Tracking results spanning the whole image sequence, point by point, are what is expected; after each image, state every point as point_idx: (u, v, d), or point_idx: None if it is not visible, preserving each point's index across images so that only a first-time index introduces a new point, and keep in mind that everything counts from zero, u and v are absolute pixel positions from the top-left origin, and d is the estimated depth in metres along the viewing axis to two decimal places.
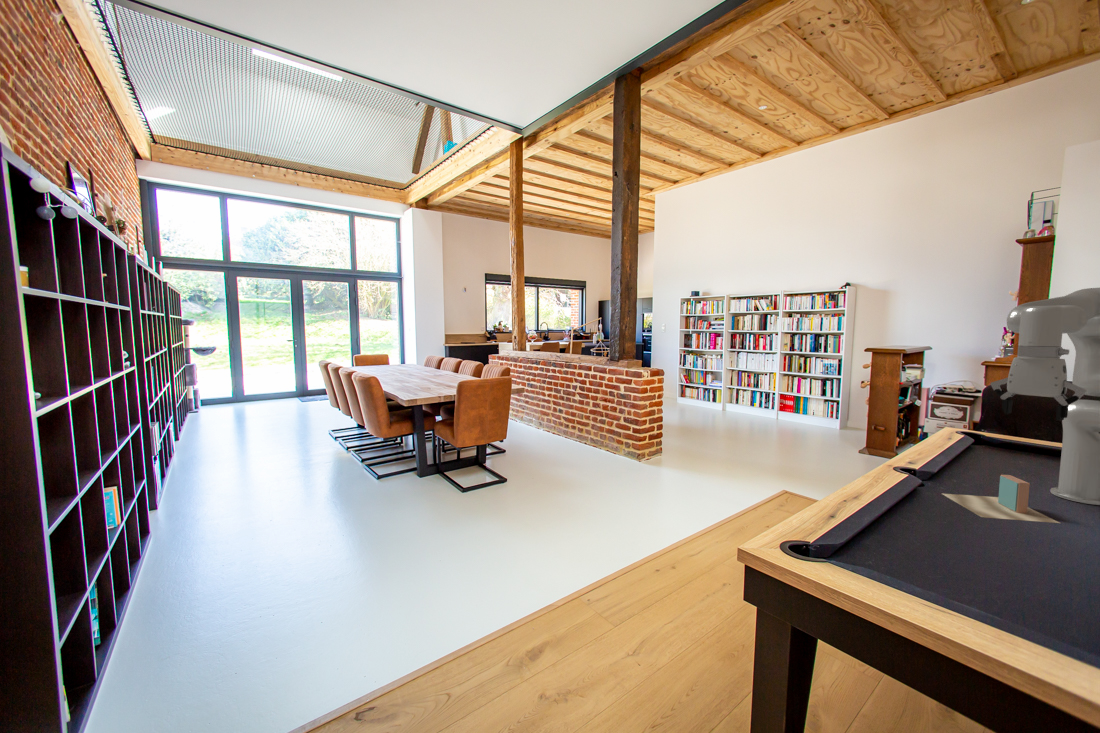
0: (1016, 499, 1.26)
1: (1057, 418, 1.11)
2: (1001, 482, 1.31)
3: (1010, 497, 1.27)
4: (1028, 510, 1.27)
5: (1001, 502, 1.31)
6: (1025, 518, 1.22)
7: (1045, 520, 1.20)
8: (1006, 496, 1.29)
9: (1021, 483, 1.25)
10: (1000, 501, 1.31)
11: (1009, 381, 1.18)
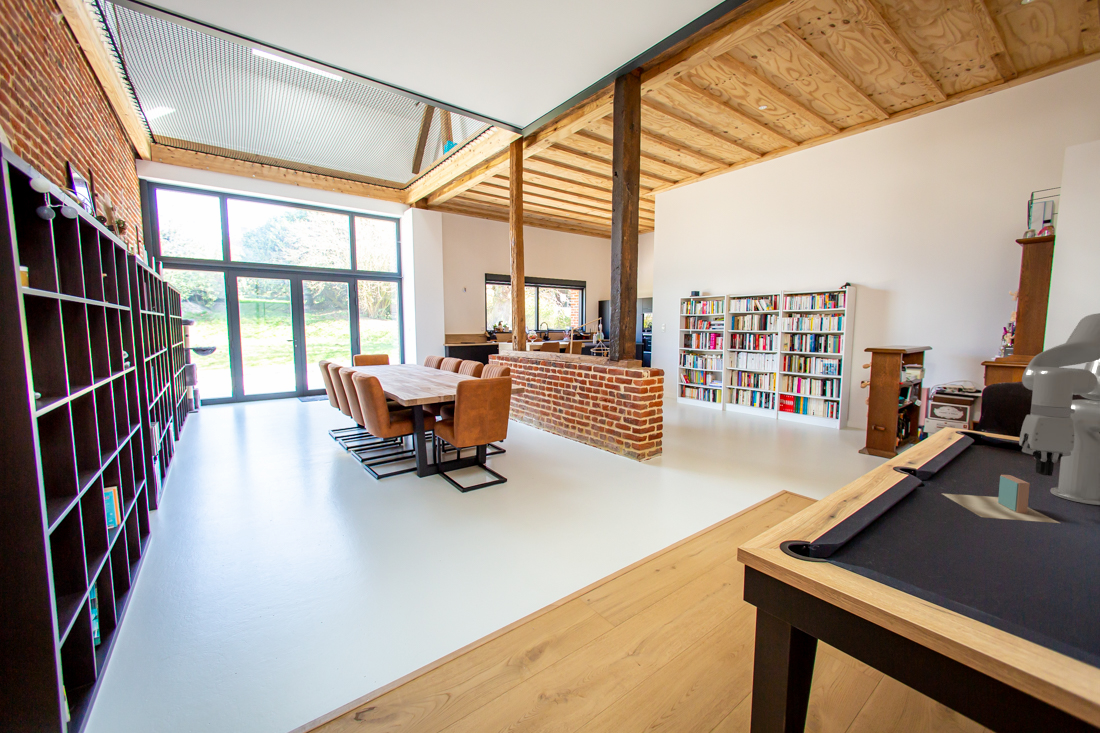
0: (1016, 499, 1.26)
1: (1050, 474, 1.24)
2: (1001, 482, 1.31)
3: (1010, 497, 1.27)
4: (1028, 510, 1.27)
5: (1001, 502, 1.31)
6: (1025, 518, 1.22)
7: (1045, 520, 1.20)
8: (1006, 496, 1.29)
9: (1021, 483, 1.25)
10: (1000, 501, 1.31)
11: (1034, 439, 1.24)
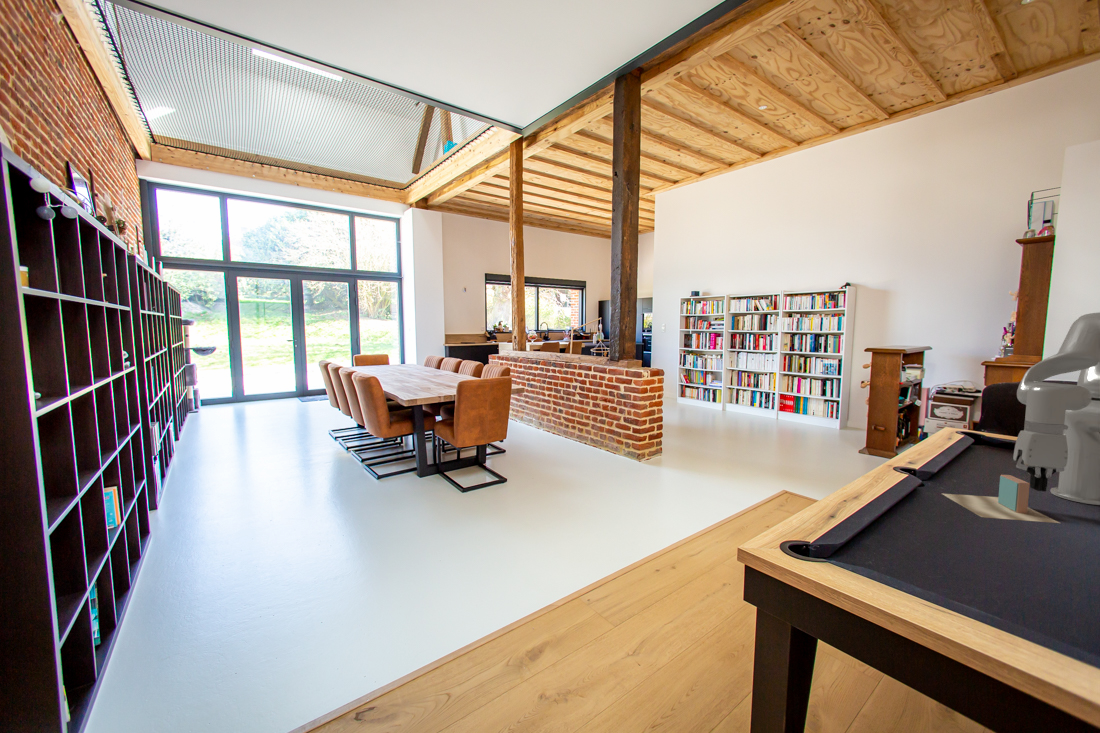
0: (1016, 499, 1.26)
1: (1044, 489, 1.25)
2: (1001, 482, 1.31)
3: (1010, 497, 1.27)
4: (1028, 510, 1.27)
5: (1001, 502, 1.31)
6: (1025, 518, 1.22)
7: (1045, 520, 1.20)
8: (1006, 496, 1.29)
9: (1021, 483, 1.25)
10: (1000, 501, 1.31)
11: (1028, 455, 1.25)
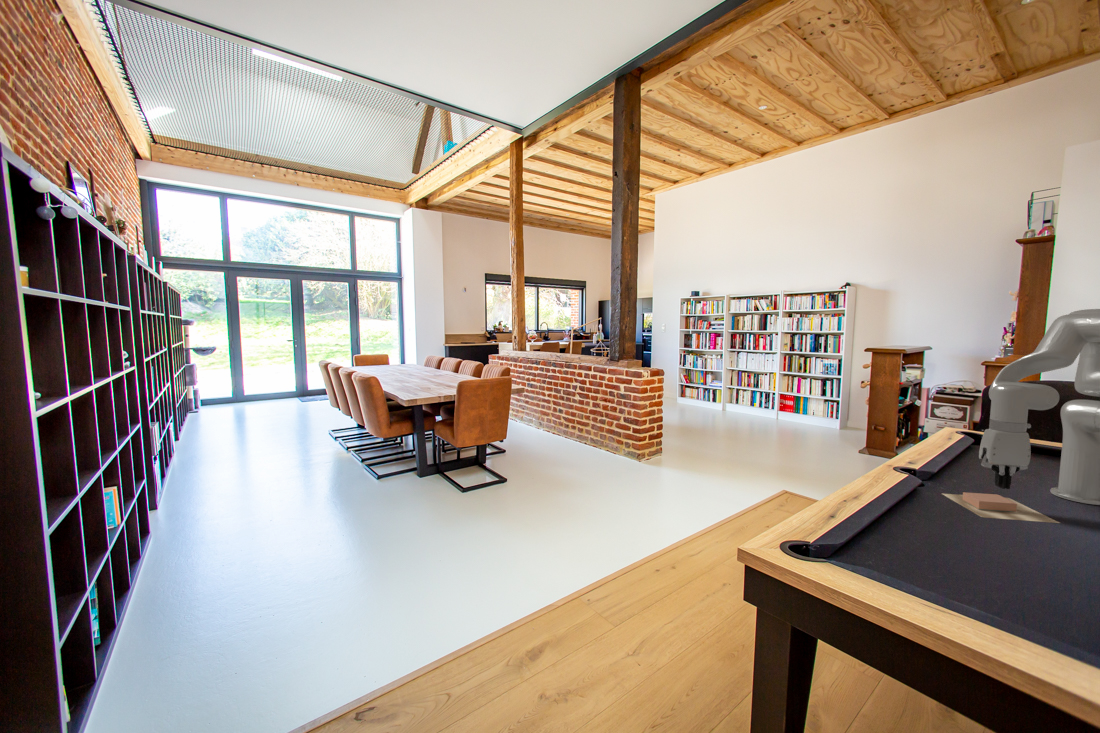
0: (998, 509, 1.27)
1: (1008, 487, 1.27)
2: None
3: None
4: (1028, 510, 1.27)
5: None
6: (1025, 518, 1.22)
7: (1045, 520, 1.20)
8: None
9: (979, 507, 1.28)
10: None
11: (992, 454, 1.27)
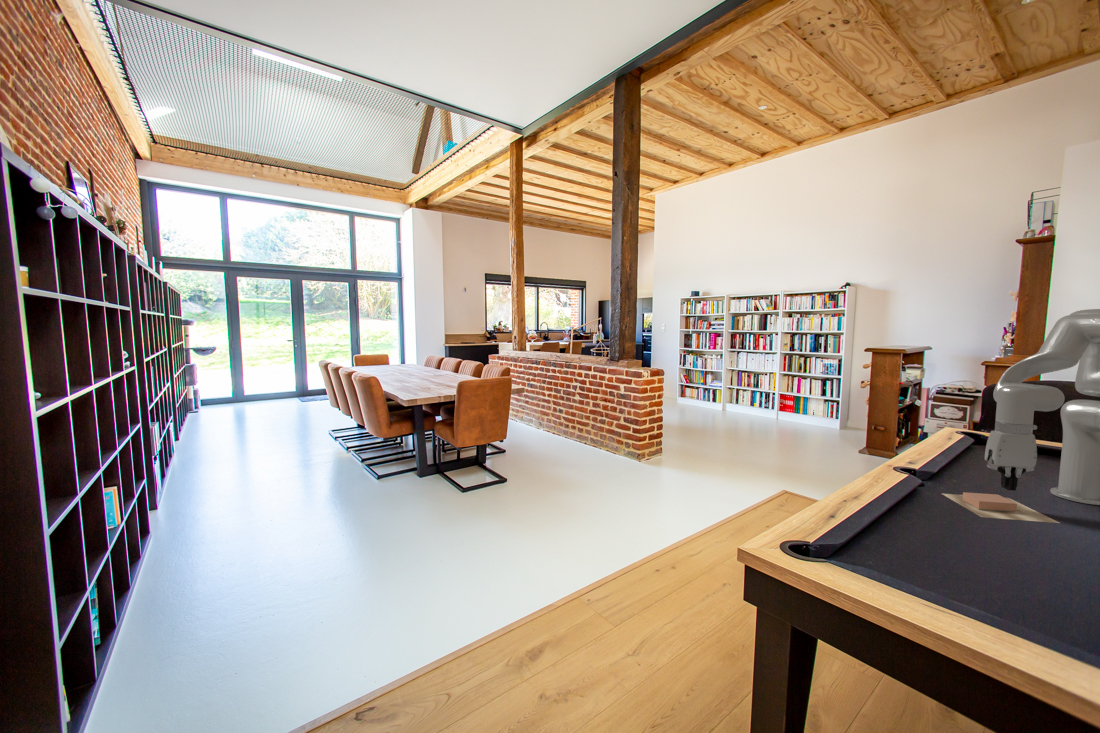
0: (998, 509, 1.27)
1: (1014, 489, 1.27)
2: None
3: None
4: (1028, 510, 1.27)
5: None
6: (1025, 518, 1.22)
7: (1045, 520, 1.20)
8: None
9: (979, 507, 1.28)
10: None
11: (998, 455, 1.27)
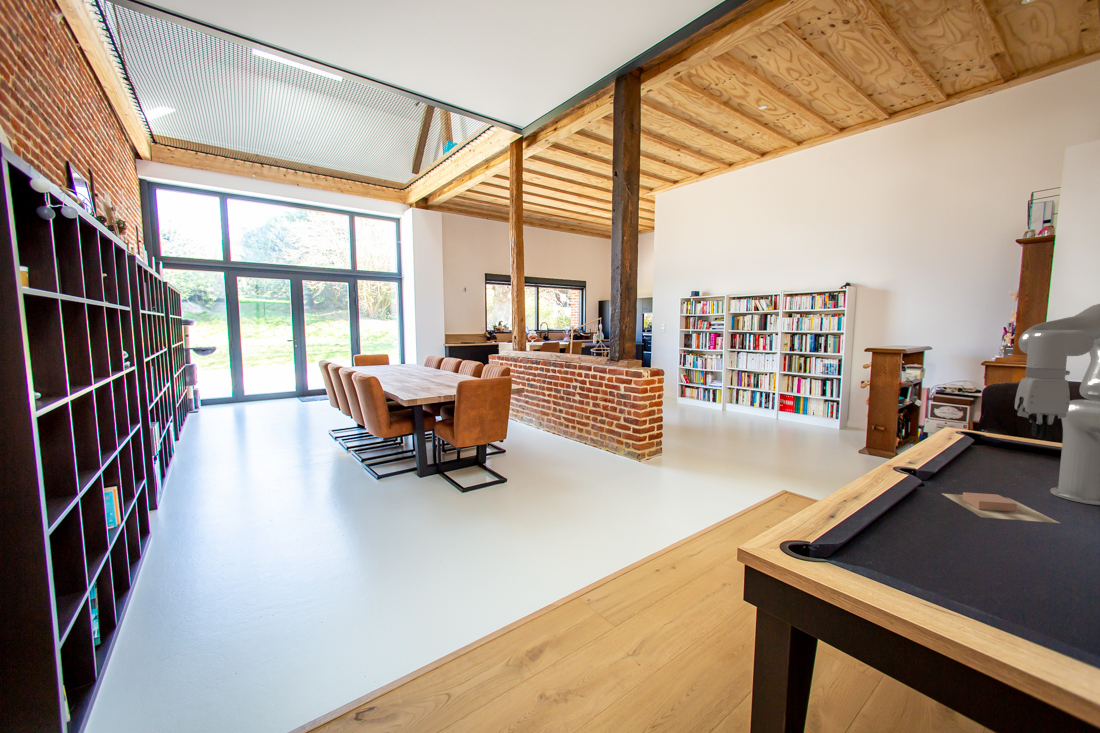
0: (998, 509, 1.27)
1: (1046, 436, 1.24)
2: None
3: None
4: (1028, 510, 1.27)
5: None
6: (1025, 518, 1.22)
7: (1045, 520, 1.20)
8: None
9: (979, 507, 1.28)
10: None
11: (1029, 402, 1.24)
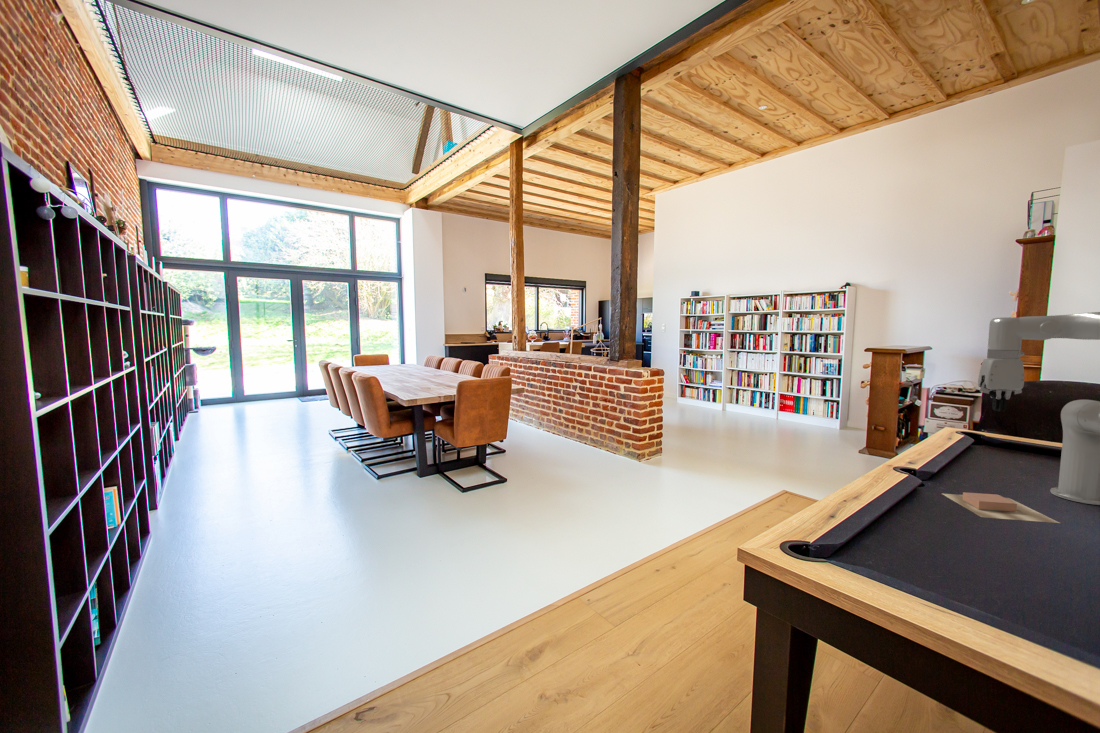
0: (998, 509, 1.27)
1: (1004, 409, 1.41)
2: None
3: None
4: (1028, 510, 1.27)
5: None
6: (1025, 518, 1.22)
7: (1045, 520, 1.20)
8: None
9: (979, 507, 1.28)
10: None
11: (989, 379, 1.41)
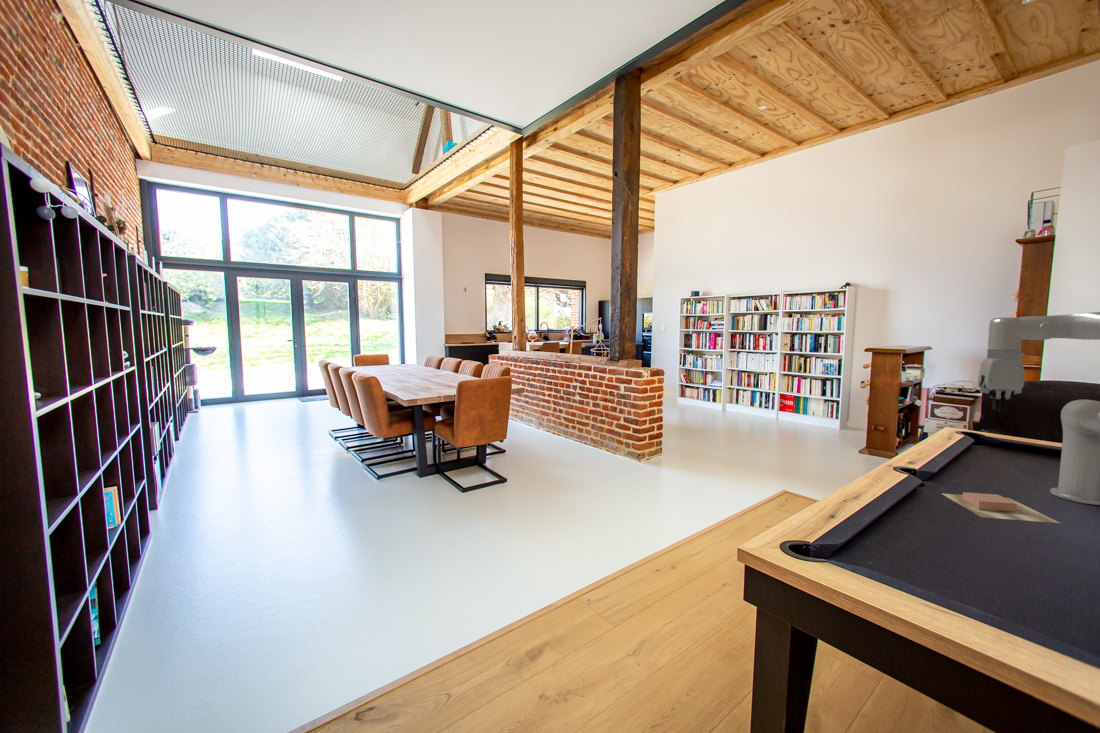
0: (998, 509, 1.27)
1: (1004, 409, 1.41)
2: None
3: None
4: (1028, 510, 1.27)
5: None
6: (1025, 518, 1.22)
7: (1045, 520, 1.20)
8: None
9: (979, 507, 1.28)
10: None
11: (989, 379, 1.41)
